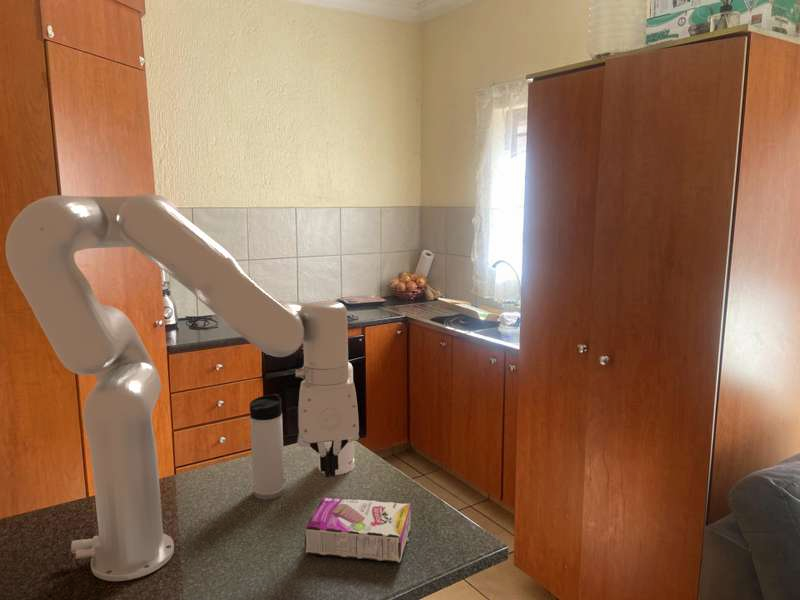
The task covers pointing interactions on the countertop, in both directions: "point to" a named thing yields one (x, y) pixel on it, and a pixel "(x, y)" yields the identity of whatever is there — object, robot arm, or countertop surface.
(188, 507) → the countertop surface
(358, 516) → the candy bar box
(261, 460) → the travel mug
